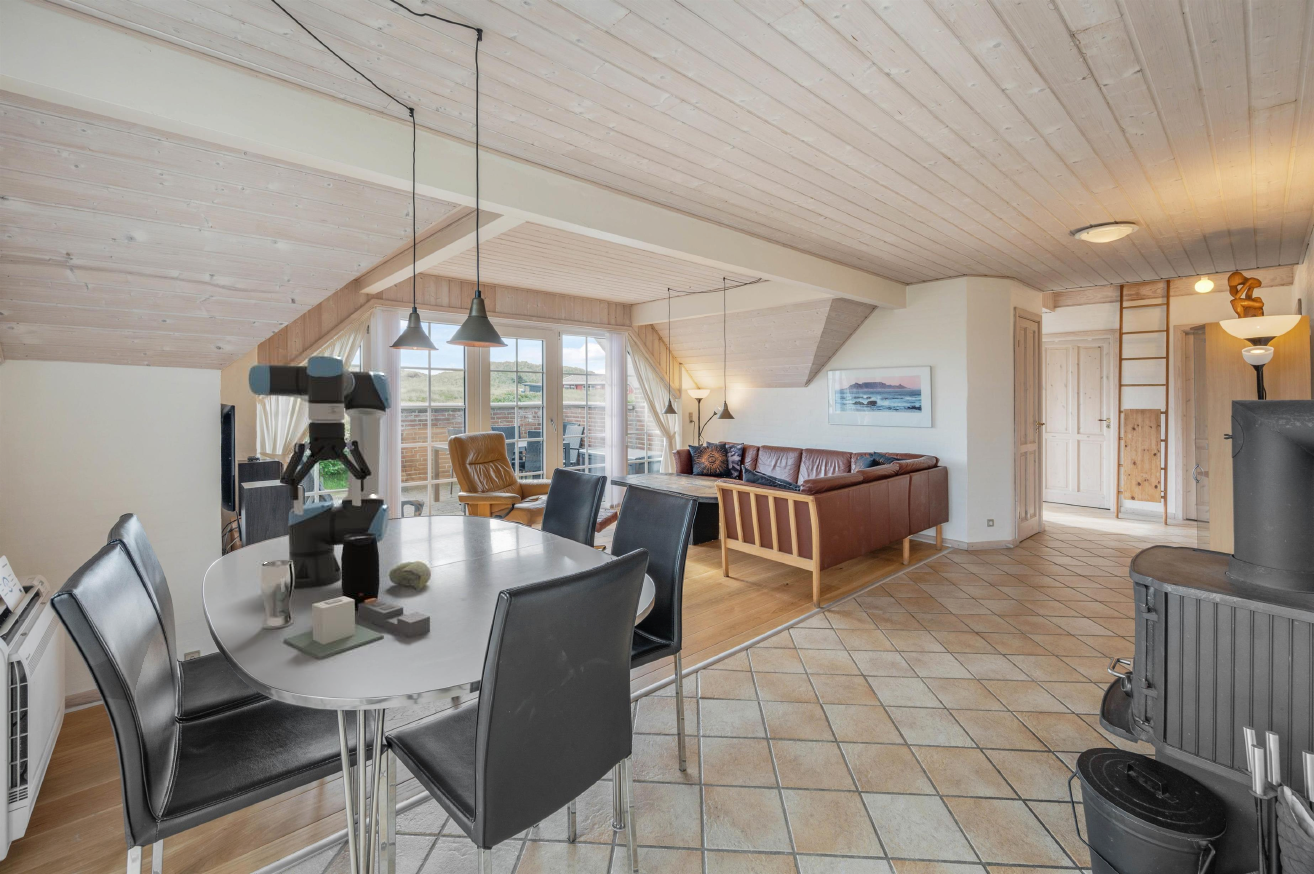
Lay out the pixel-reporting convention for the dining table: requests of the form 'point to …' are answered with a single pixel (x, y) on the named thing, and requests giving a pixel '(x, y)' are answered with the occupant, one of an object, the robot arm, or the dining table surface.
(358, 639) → the mat
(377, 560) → the portable speaker
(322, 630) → the block
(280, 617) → the beer glass
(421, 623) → the power strip
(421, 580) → the seashell
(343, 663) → the dining table surface
